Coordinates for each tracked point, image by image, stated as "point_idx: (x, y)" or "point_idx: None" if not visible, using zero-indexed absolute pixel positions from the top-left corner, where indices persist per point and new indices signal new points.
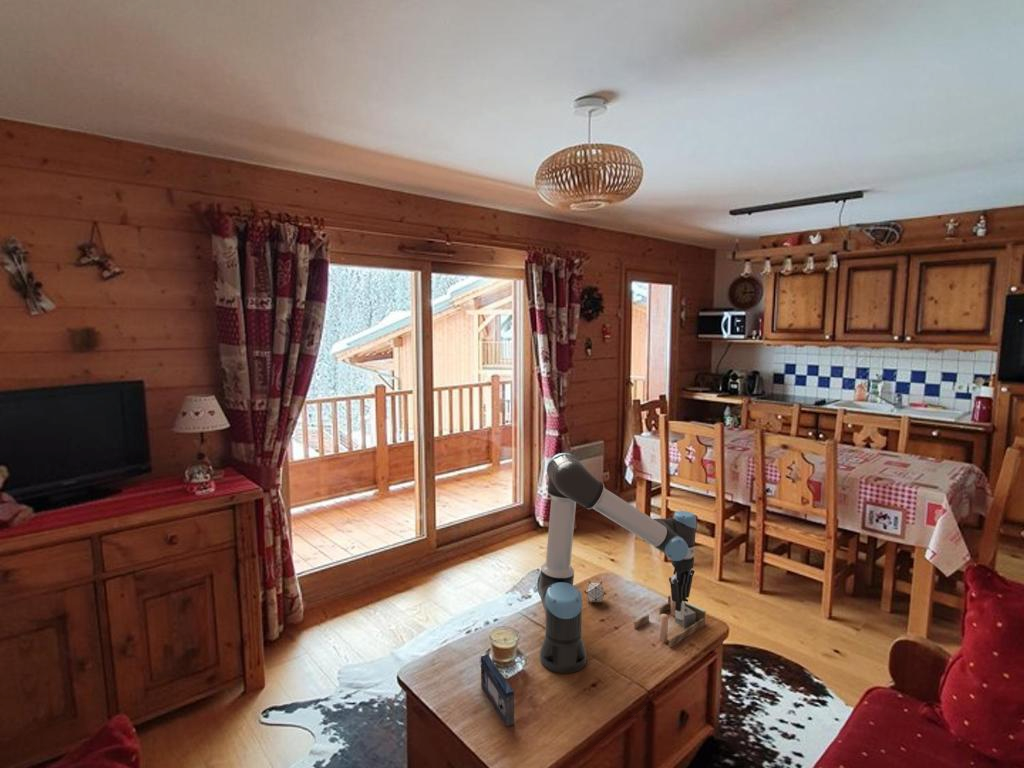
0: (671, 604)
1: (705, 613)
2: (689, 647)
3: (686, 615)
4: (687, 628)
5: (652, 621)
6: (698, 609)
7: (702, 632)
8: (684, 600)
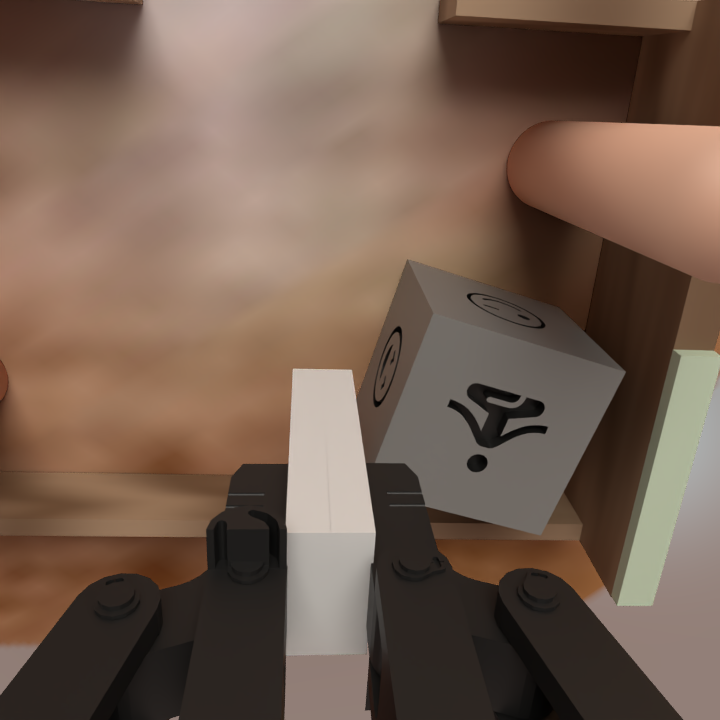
0: (562, 163)
1: None
2: None
3: None
4: None
5: (182, 46)
6: (629, 535)
7: None
8: (370, 664)
